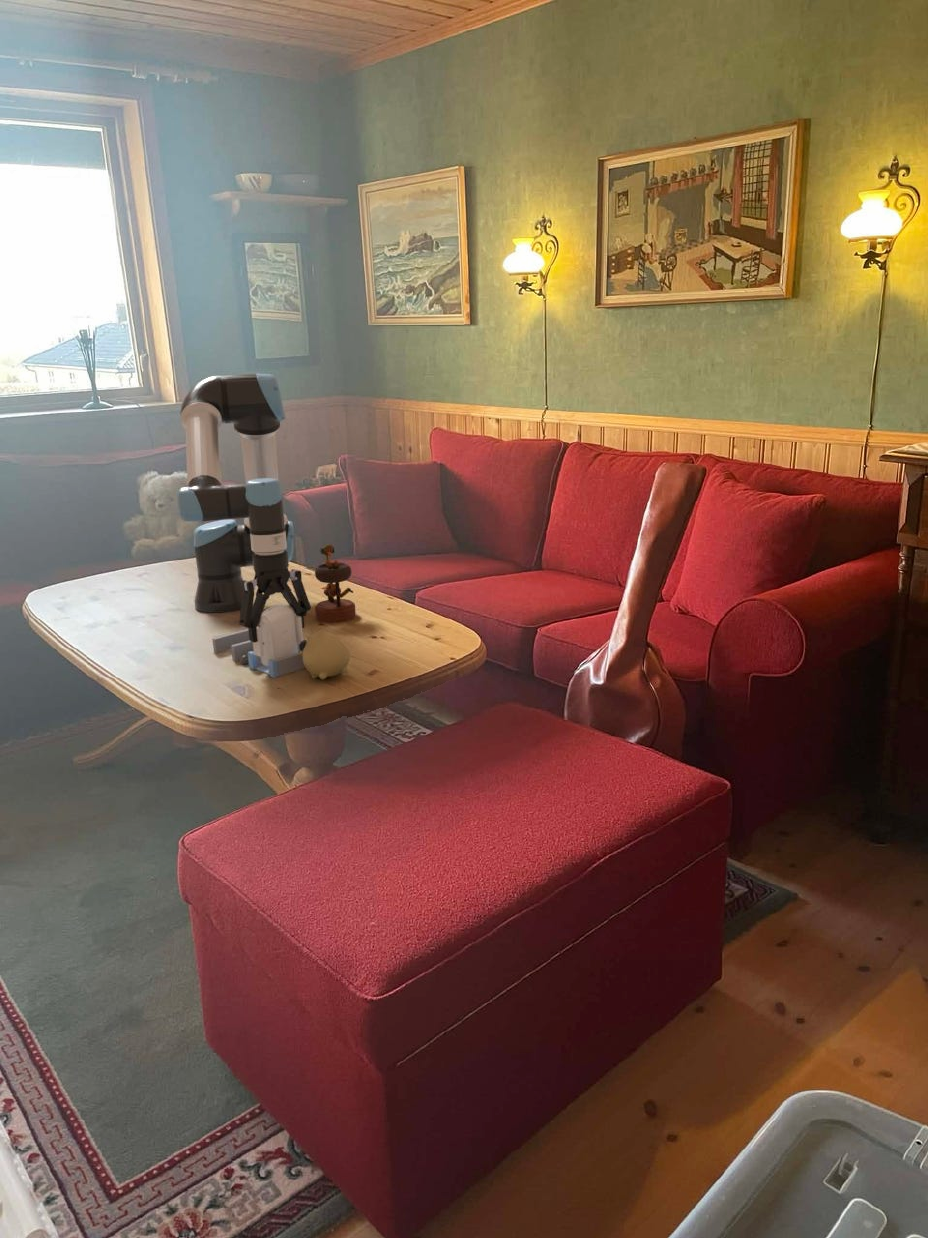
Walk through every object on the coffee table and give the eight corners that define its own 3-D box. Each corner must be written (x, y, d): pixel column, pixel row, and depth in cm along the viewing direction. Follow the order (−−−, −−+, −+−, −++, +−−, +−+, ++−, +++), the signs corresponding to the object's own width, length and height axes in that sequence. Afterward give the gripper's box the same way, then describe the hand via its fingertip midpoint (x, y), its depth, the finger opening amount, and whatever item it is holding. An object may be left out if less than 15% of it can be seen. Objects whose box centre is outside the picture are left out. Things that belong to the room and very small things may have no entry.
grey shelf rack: (211, 653, 220) (209, 637, 219) (268, 637, 230) (267, 622, 229) (273, 678, 202) (272, 661, 201) (332, 659, 212) (331, 643, 211)
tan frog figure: (334, 664, 209) (331, 619, 206) (359, 679, 200) (355, 632, 197) (294, 673, 204) (289, 627, 201) (316, 689, 195) (312, 641, 191)
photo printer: (274, 667, 203) (269, 612, 199) (258, 665, 204) (252, 611, 201) (301, 653, 212) (296, 601, 208) (285, 652, 213) (280, 599, 210)
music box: (303, 615, 247) (303, 541, 242) (340, 611, 254) (340, 538, 249) (332, 628, 235) (332, 550, 231) (369, 623, 242) (370, 546, 237)
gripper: (233, 563, 191) (244, 666, 197) (322, 544, 206) (329, 640, 212) (214, 558, 196) (225, 658, 203) (302, 540, 211) (310, 633, 218)
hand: (279, 649), depth 207 cm, fingers closed on photo printer, 10 cm apart
